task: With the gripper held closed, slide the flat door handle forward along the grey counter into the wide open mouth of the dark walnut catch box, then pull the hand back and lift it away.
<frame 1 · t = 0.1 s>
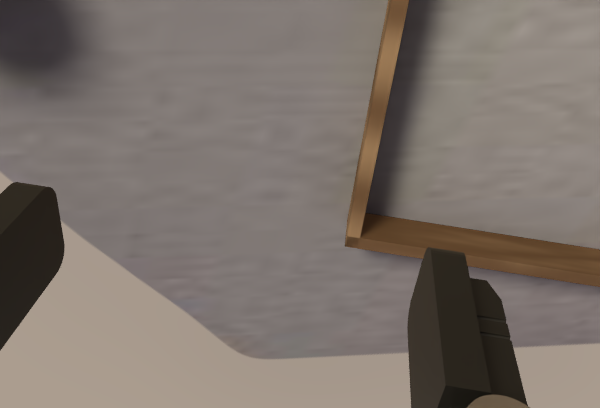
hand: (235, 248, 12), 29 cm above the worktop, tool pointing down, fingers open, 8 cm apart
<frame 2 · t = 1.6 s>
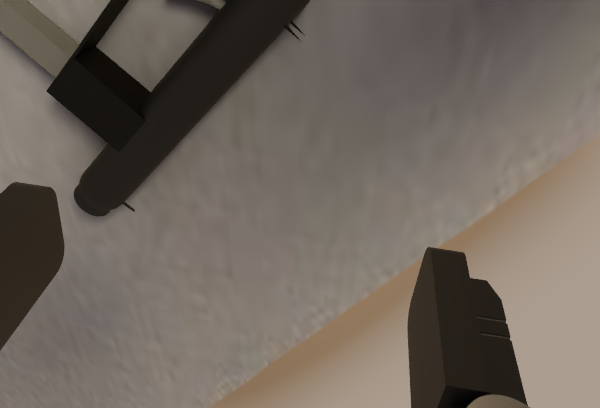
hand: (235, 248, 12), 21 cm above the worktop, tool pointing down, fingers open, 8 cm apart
door handle: (116, 17, 32), on the worktop
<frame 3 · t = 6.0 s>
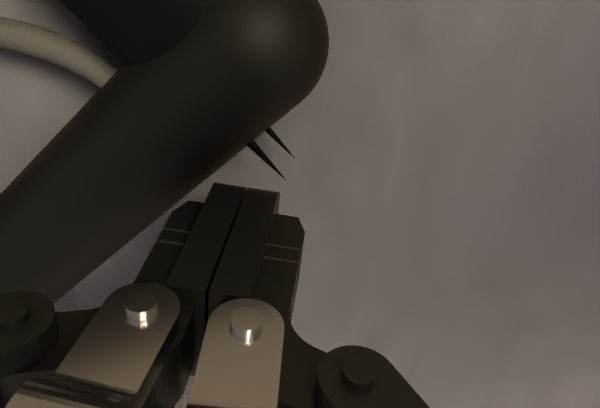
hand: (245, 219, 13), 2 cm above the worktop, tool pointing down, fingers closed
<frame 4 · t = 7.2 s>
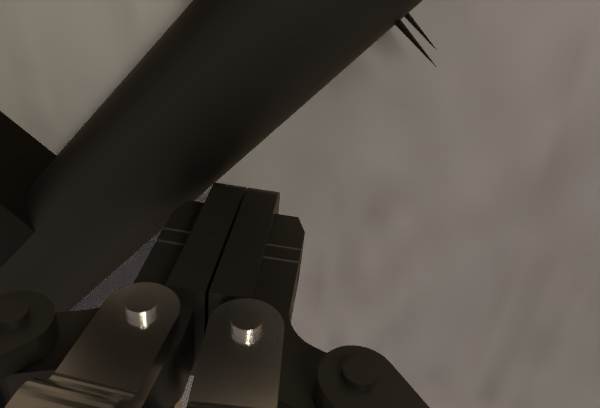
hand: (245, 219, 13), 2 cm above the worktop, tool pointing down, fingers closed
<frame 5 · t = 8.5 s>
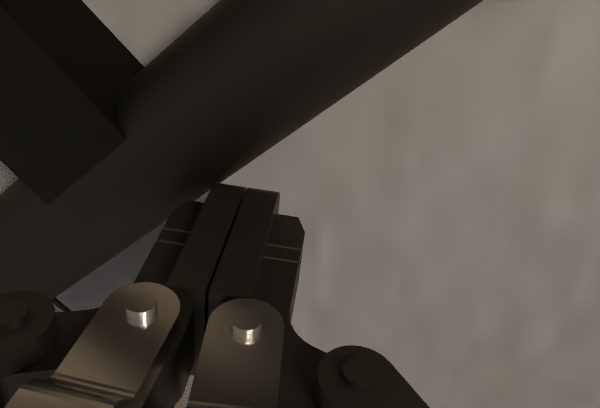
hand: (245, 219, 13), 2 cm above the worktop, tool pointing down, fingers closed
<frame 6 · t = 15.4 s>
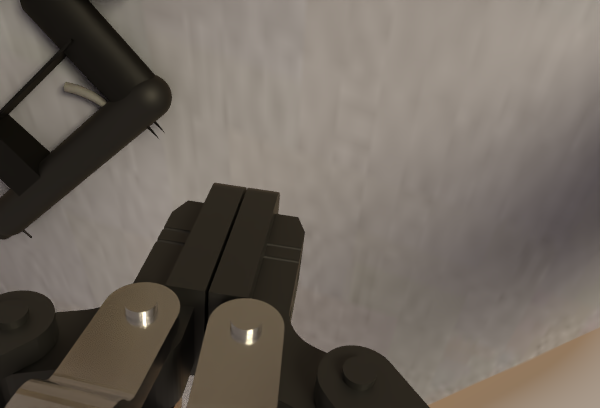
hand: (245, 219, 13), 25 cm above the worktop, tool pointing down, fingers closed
door handle: (26, 94, 42), on the worktop
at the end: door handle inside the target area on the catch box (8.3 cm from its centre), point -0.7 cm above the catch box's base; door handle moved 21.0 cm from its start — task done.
